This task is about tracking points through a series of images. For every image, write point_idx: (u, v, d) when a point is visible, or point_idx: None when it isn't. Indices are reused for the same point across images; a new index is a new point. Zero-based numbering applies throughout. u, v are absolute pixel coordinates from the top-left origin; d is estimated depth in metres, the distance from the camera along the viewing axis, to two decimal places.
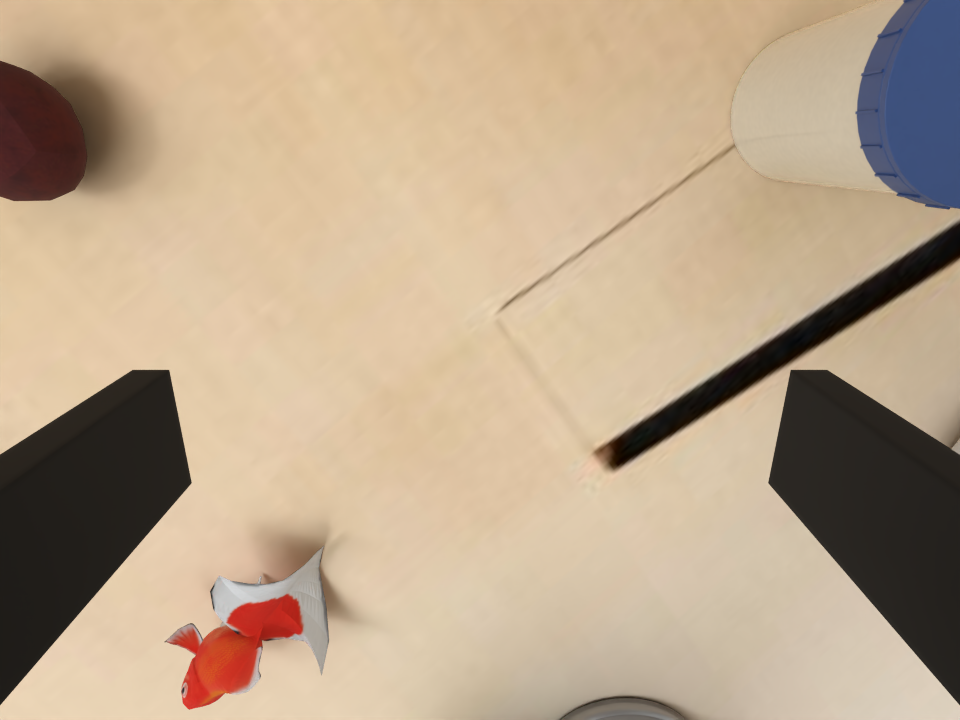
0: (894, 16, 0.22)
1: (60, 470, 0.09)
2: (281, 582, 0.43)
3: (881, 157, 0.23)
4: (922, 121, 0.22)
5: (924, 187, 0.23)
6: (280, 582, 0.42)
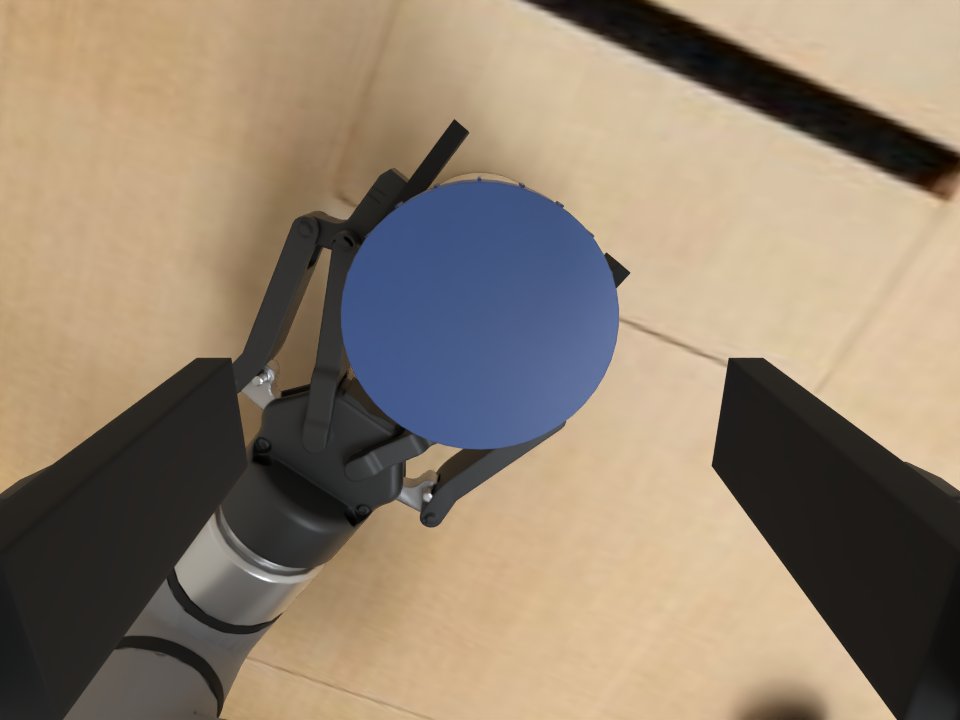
0: None
1: (150, 447, 0.10)
2: None
3: None
4: (559, 379, 0.20)
5: (612, 328, 0.19)
6: None
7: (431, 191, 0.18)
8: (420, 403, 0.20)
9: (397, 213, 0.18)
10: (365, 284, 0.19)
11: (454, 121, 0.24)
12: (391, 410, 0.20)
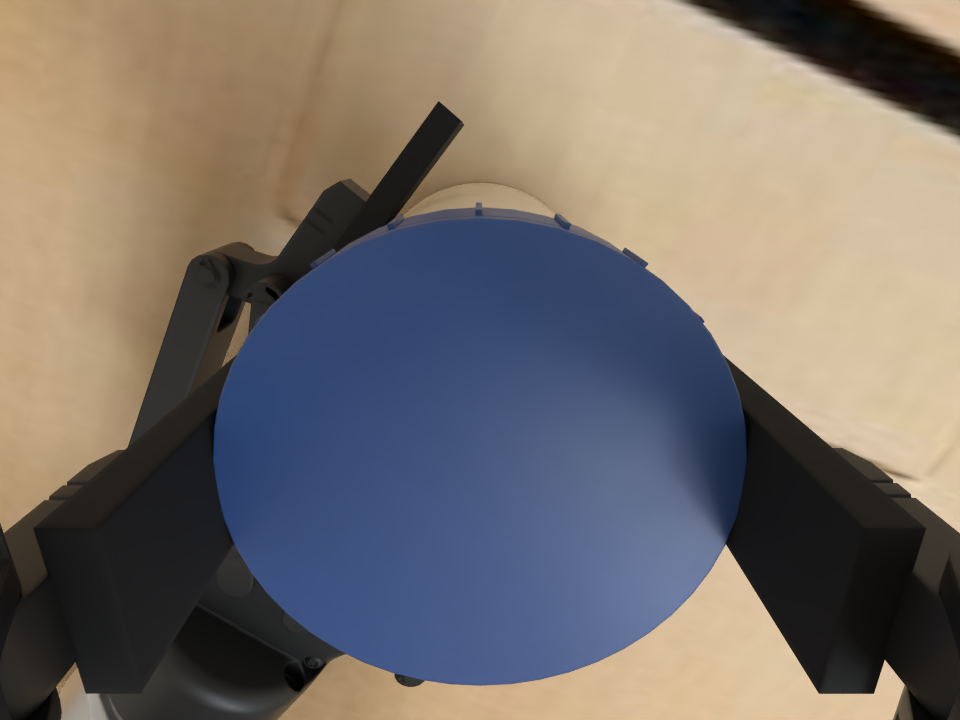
0: None
1: (211, 433, 0.10)
2: None
3: None
4: (626, 576, 0.11)
5: (733, 491, 0.10)
6: None
7: (380, 237, 0.09)
8: (371, 614, 0.11)
9: (312, 281, 0.09)
10: (256, 414, 0.10)
11: (438, 105, 0.15)
12: (318, 626, 0.11)
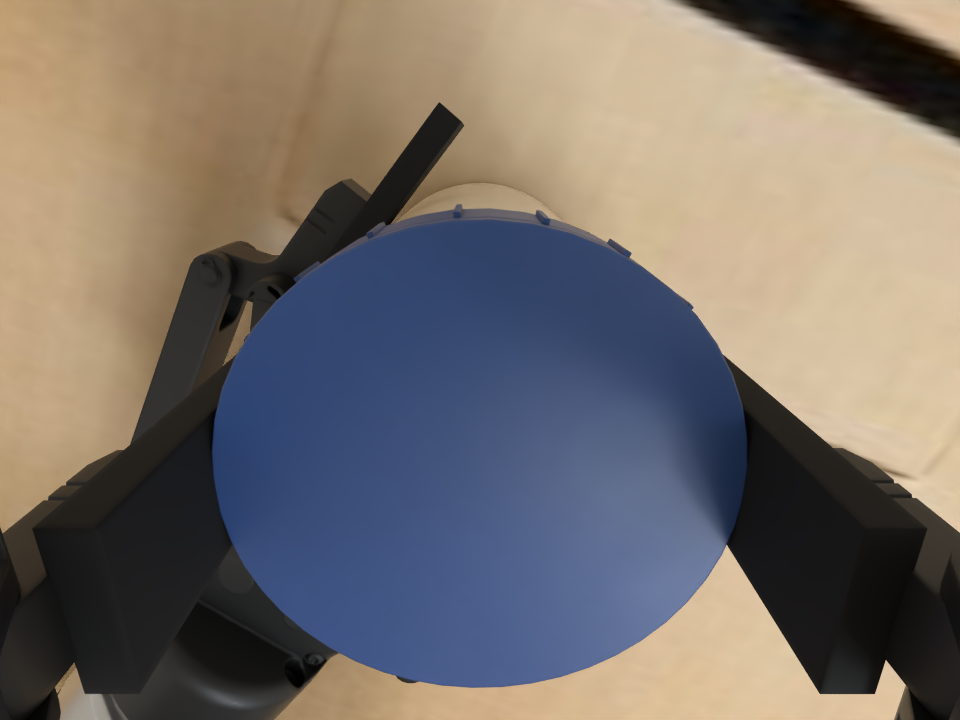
0: None
1: (210, 434, 0.10)
2: None
3: None
4: (640, 382, 0.09)
5: (570, 248, 0.09)
6: None
7: (219, 496, 0.10)
8: (587, 617, 0.11)
9: (245, 554, 0.11)
10: (351, 630, 0.11)
11: (439, 106, 0.15)
12: (581, 661, 0.12)
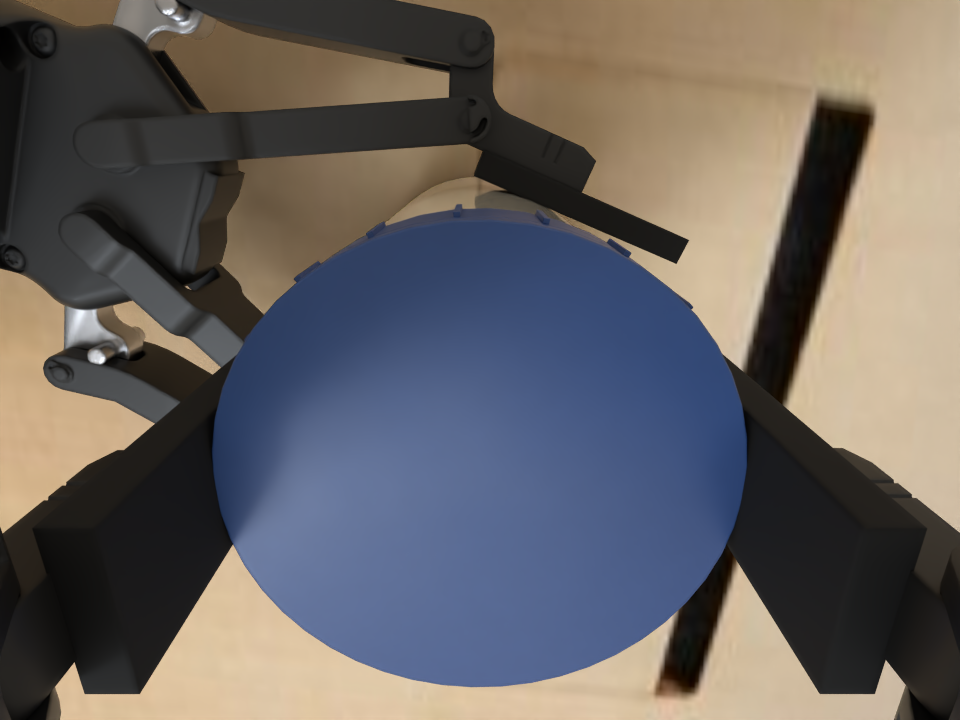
0: None
1: (210, 433, 0.10)
2: None
3: None
4: (640, 382, 0.09)
5: (570, 248, 0.09)
6: None
7: (219, 495, 0.10)
8: (587, 617, 0.11)
9: (245, 554, 0.11)
10: (351, 630, 0.11)
11: (685, 240, 0.17)
12: (580, 660, 0.12)
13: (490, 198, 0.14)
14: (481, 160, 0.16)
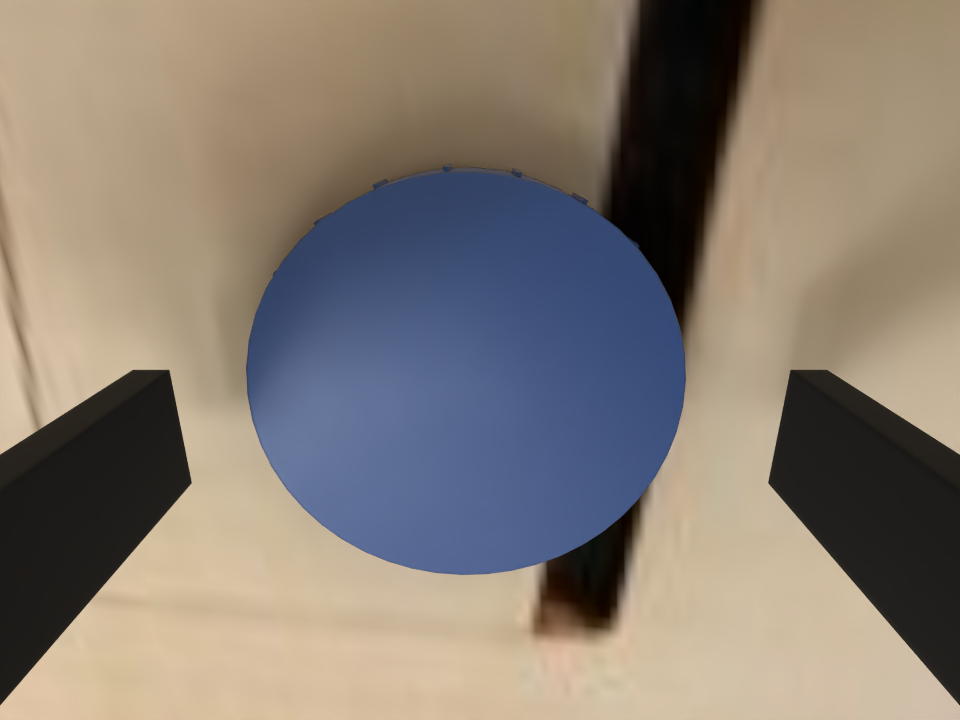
0: None
1: (60, 470, 0.09)
2: None
3: None
4: (596, 307, 0.12)
5: (537, 195, 0.11)
6: None
7: (251, 406, 0.12)
8: (557, 511, 0.13)
9: (273, 457, 0.13)
10: (360, 524, 0.14)
11: None
12: (552, 550, 0.14)
13: None
14: None
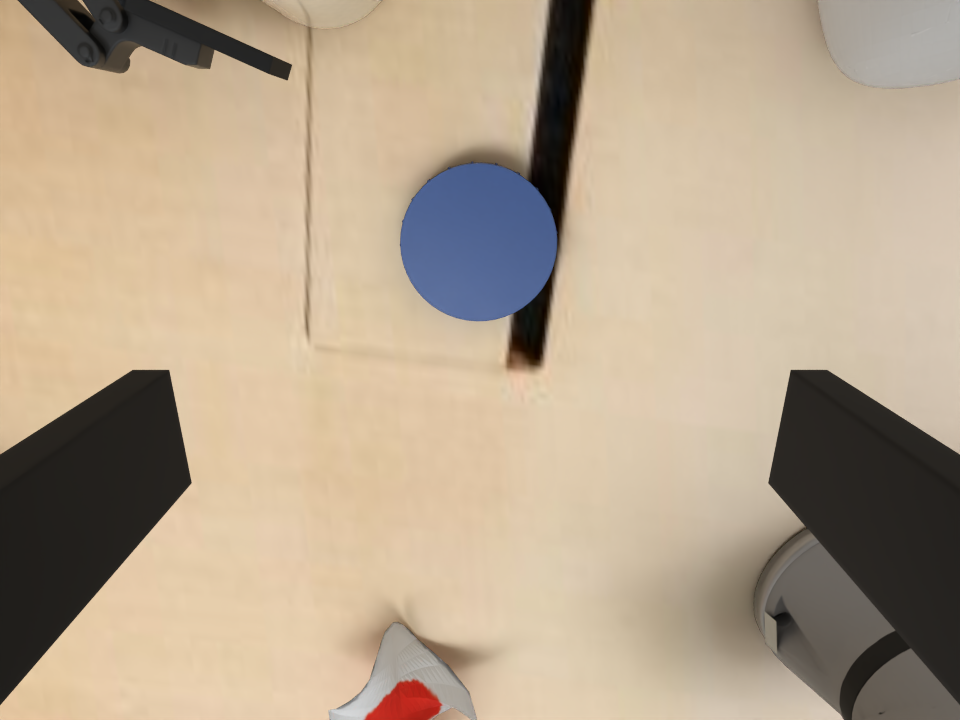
0: None
1: (60, 470, 0.09)
2: (372, 681, 0.42)
3: None
4: (523, 210, 0.34)
5: (502, 170, 0.33)
6: (371, 682, 0.42)
7: (401, 248, 0.35)
8: (512, 292, 0.35)
9: (407, 268, 0.35)
10: (438, 297, 0.36)
11: None
12: (511, 309, 0.36)
13: None
14: None
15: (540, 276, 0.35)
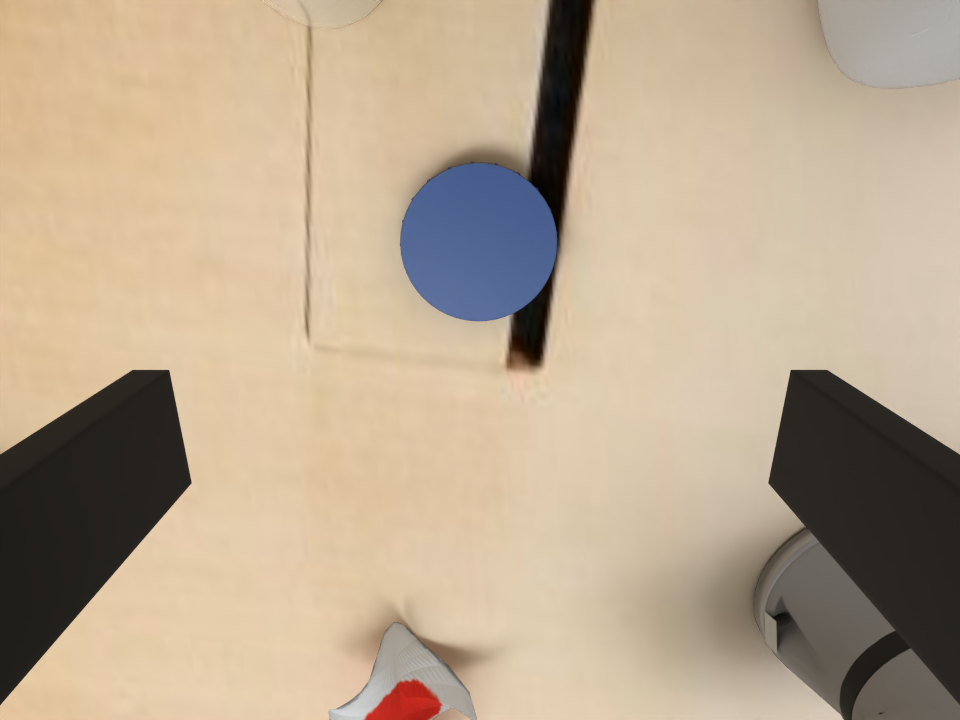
0: None
1: (60, 470, 0.09)
2: (372, 681, 0.42)
3: None
4: (523, 210, 0.34)
5: (502, 170, 0.33)
6: (371, 682, 0.42)
7: (401, 248, 0.35)
8: (512, 292, 0.35)
9: (407, 268, 0.35)
10: (438, 297, 0.36)
11: None
12: (511, 309, 0.36)
13: None
14: None
15: (540, 276, 0.35)
